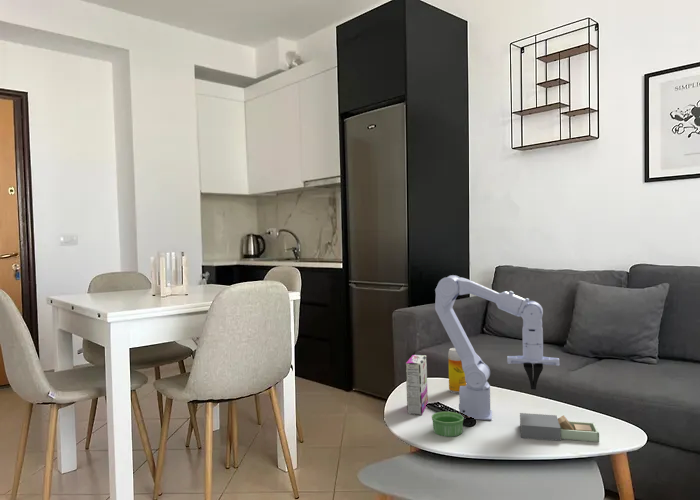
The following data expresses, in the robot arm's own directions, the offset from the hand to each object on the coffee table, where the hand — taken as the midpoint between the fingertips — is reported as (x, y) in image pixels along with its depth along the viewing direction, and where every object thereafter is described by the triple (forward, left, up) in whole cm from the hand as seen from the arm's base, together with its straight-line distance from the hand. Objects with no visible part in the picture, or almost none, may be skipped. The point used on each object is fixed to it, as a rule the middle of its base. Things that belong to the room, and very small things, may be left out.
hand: (533, 388), depth 156 cm
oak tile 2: (+12, -8, -8) cm, 17 cm away
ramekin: (-24, -13, -10) cm, 29 cm away
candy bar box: (-35, +4, -10) cm, 37 cm away
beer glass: (-24, +26, -10) cm, 37 cm away
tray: (+11, -9, -10) cm, 17 cm away
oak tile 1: (+7, -9, -8) cm, 14 cm away
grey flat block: (+1, -9, -10) cm, 13 cm away
